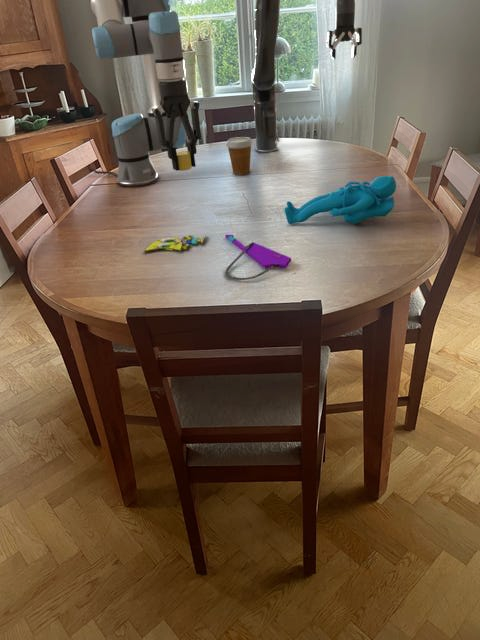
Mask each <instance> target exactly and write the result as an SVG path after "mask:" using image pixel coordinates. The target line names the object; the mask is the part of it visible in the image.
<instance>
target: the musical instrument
mask: <svg viewBox="0 0 480 640" xmlns="http://www.w3.org/2000/svg"><path fill="white" fill-rule="evenodd" d="M224 236H225V238H226V240H228V241H229V242H230V243H231V244H234V245H235V246H236V247H237V248H238V249H240V250H241V251H242V252H241V253H240V254H239V255H238V256H237V257H236V258H235V259H234V260H233V261H232V262H231V263H230V264H229V265H228V266H227V267H226V269H225V277H227V278H228V279H233V280H236V281H247V280H252V279H256V278H258V277H260V276H262V275H264V274H266V273H267V272H269V271H270V270H272V269H274V268H278V269H287V268H288V266H289V265H290V263H291V262H292V257H289V256H287V255H285V254H282V253H280V252H278V251H275V250H273V249H271V248H269V247H266V246H264V245H261V244H259V243H256V242H253V241H252V242H251V243H249V244H247V245H244V244H242V243H241V242H240V241H239V240H237V238H236V237H235V235H234V234H225V235H224ZM245 254H246V255H247V256H249V257H250V258H251V259H253V260H254V262H256V263H257V264H259V265H260V266H261V267H263V268H264V269H265V270H263V271H262V272H260V273H257V274H255V275H252V276H248V277H237V276H231V275H230V273H229V271H230V268H232V266H233V265H234V264H235V263H236V262H237V261H238V260H239V259H240V258H241V257H242V256H243V255H245Z"/></svg>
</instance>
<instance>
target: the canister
mask: <svg viewBox="0 0 480 640" xmlns="http://www.w3.org/2000/svg"><path fill="white" fill-rule="evenodd" d="M176 153H177V160H178V167H179V170H178V171H181V172H182V171H189V170H191V169H192V168H193V167H192V163H191V155H190V152H189V151H188V150H181V151H176Z"/></svg>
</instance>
